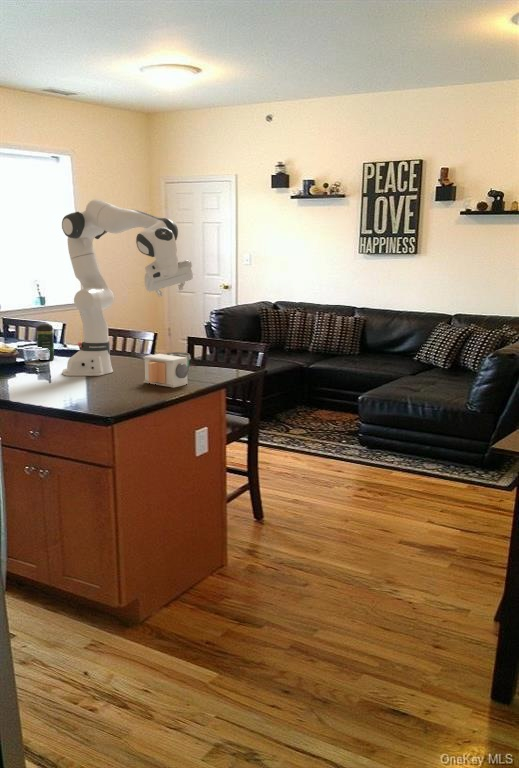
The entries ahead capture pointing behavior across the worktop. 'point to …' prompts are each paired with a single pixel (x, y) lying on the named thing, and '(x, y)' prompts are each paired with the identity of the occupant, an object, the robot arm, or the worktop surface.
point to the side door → (157, 372)
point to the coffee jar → (45, 338)
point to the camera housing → (169, 369)
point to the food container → (181, 356)
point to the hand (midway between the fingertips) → (170, 292)
